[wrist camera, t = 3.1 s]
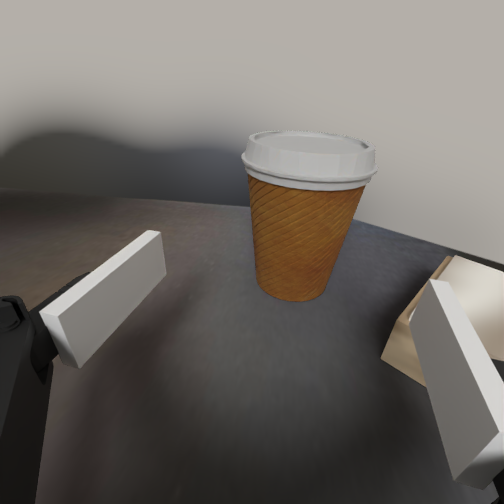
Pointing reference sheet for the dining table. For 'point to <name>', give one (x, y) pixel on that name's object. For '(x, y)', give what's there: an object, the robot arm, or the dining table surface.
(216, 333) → the dining table surface
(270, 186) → the disposable coffee cup
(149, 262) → the robot arm
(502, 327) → the plinth
